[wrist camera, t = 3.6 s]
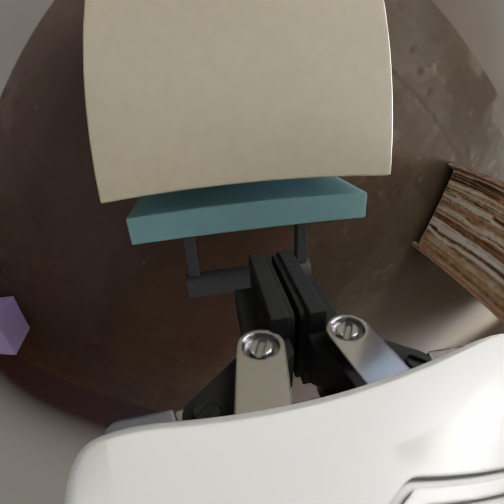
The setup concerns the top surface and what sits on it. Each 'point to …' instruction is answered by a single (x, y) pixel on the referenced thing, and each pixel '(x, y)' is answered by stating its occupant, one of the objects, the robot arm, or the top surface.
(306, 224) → the teal drawer
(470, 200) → the book
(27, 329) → the lavender cube
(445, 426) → the robot arm
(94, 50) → the drawer cabinet
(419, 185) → the top surface
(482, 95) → the top surface
